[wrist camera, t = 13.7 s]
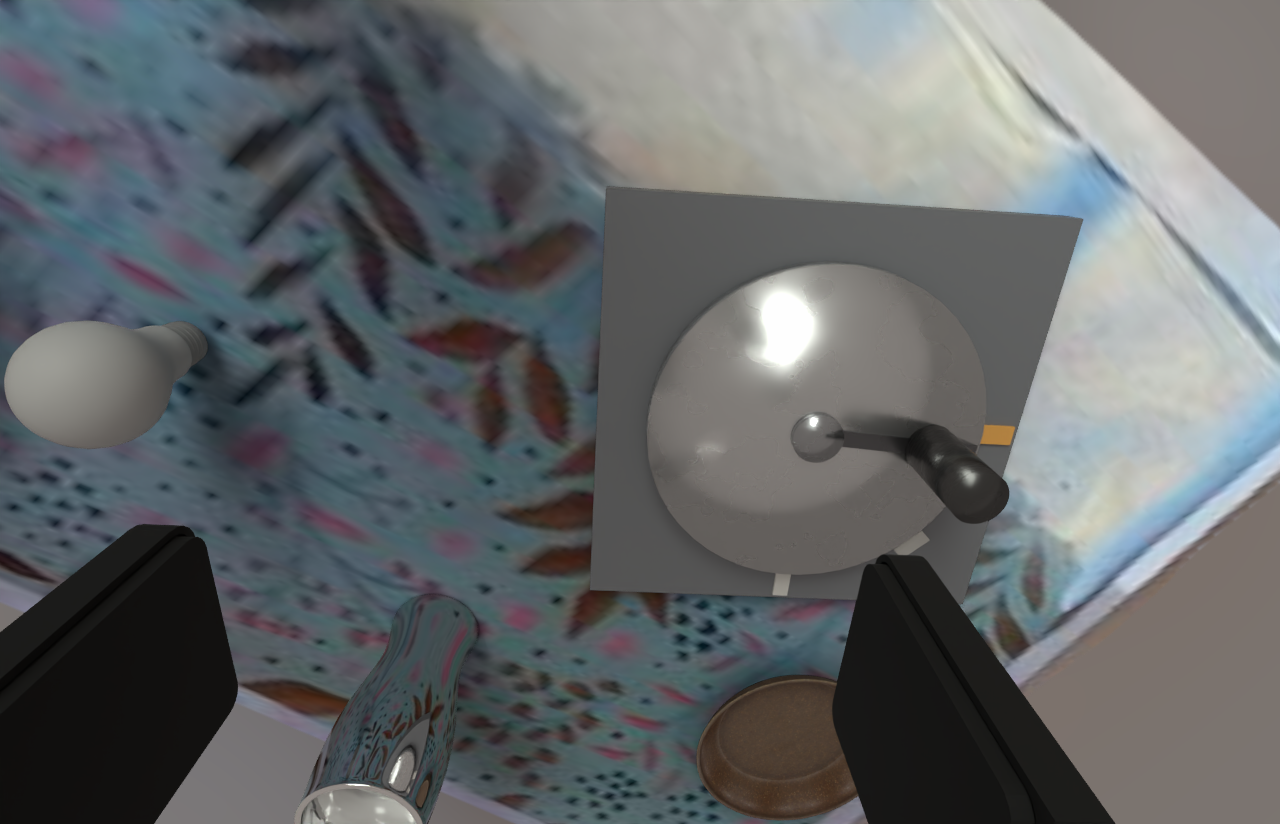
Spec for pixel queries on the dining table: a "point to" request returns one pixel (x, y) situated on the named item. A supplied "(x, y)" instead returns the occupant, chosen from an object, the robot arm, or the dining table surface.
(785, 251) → the dial plate
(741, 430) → the dial
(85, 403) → the lightbulb
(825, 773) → the saucer
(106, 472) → the dining table surface
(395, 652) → the beer glass
